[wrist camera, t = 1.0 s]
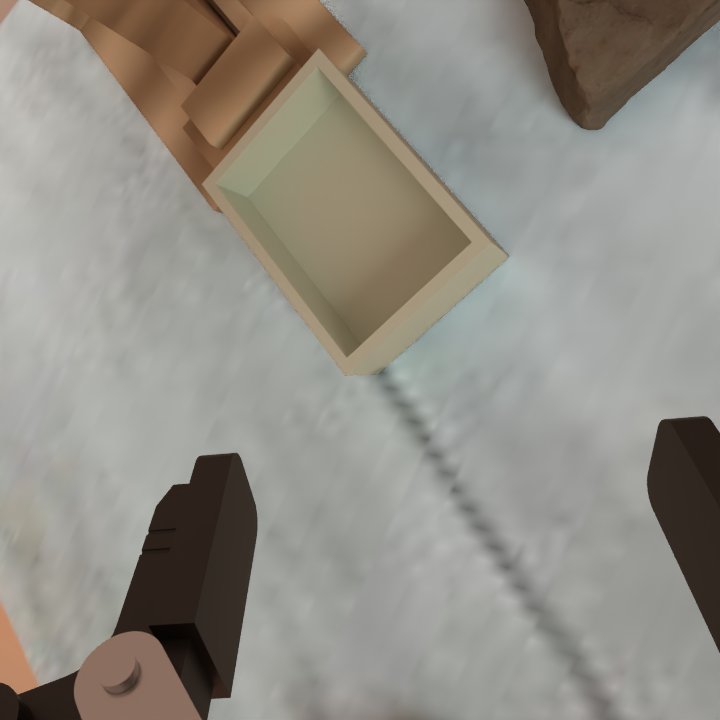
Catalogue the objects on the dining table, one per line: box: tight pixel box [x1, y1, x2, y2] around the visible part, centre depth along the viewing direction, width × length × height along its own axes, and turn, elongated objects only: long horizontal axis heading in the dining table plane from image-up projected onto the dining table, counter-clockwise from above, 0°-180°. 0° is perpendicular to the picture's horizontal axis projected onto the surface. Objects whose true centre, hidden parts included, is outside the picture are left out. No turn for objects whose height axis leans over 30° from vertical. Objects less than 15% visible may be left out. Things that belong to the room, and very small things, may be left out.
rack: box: [29, 0, 367, 214], centre depth 36 cm, size 17×12×5 cm
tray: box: [202, 48, 509, 376], centre depth 32 cm, size 13×9×4 cm
